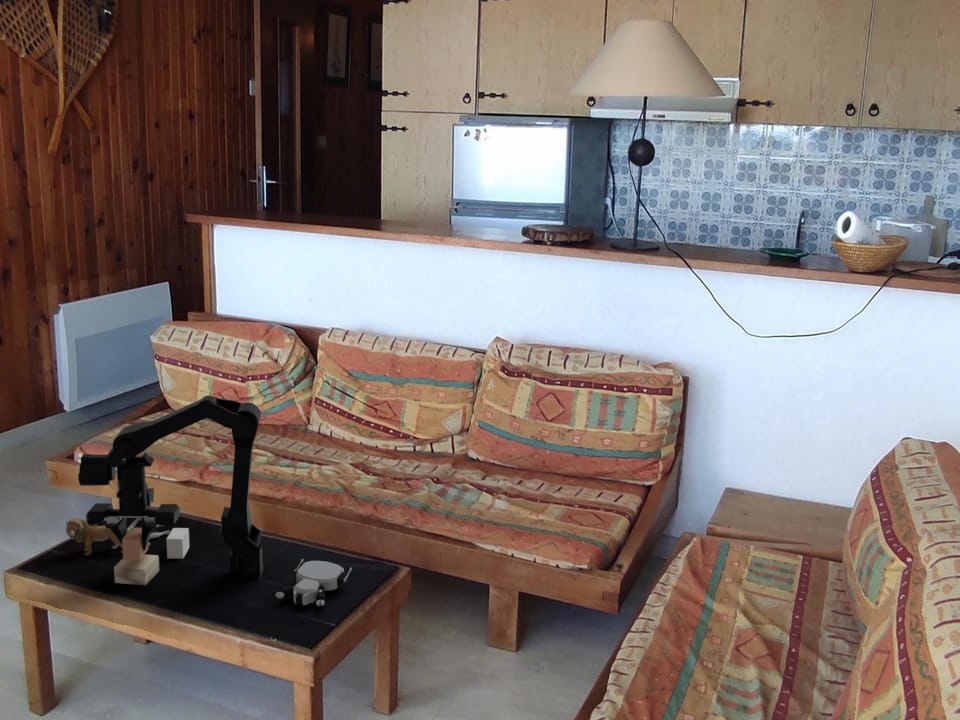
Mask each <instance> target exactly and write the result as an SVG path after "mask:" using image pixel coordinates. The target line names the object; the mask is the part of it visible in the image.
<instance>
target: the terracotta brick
mask: <svg viewBox="0 0 960 720" xmlns="http://www.w3.org/2000/svg"><path fill="white" fill-rule="evenodd" d="M122 545H123V548H122V550H123V554H122V559H123V560H141V559H142V557H143V555H144V554H146V553H147V551H148V550H149V544H148V545H147V548H146V550H145V551H143V547H142V527H133V528H130V529H129V531H128V532H127V533H126V535H125V536H124V537H123V539H122Z"/></svg>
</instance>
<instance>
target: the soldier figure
mask: <svg viewBox="0 0 960 720" xmlns="http://www.w3.org/2000/svg"><path fill="white" fill-rule="evenodd" d="M142 519H143V518H135V520H134V521H133V522H131V524H130V525H129V526H128V527H126V528H127V532H128V531H129V529H130V528H135V526H136V525H137V523H138V521H142ZM164 526H165V525H157V527H156V528H159V527H164ZM169 534H170V530H168V529H167V530H166V531H162V532H157V531H156V532H151V535H150V538H149V540H151V539H155V538H160V537H161V536H163V535H169ZM148 545H151V542H150V541H148Z"/></svg>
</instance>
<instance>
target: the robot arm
mask: <svg viewBox="0 0 960 720" xmlns="http://www.w3.org/2000/svg"><path fill="white" fill-rule="evenodd" d="M261 412H262V411H261V409H260V408H259V407H258V405H256V404H254V403H252V402H240V401H237V400H232V399H225V398H219V397H217V396H214V395H210V394H209V395H204V396H203V397H202V398H200V399H199V400H196V401H194V402H192V403H190V404H187V405H185V406H183V407H180V408H178V409H176V410H174V411H172V412H169V413H167V414H165V415H163V416H161V417H158V418H156V419H154V420H151V421H144V422H142V421H141V422H138V423H133V424H130V425H127V426H124V427H123V428H121V430H119V432H118V433H117V435H116V437H114V440H113V442H112V448H111V449H110V450H109V452H108V453H107V454H91V453H84V454H82V455H81V457H80V464H79V467H78V468H79V472H78V474H77V477H78V484H79V485H80V486H81V487H82V486H83V487H86V486H87V487H90V486H91V487H92V486H93V487H95V486H96V487H98V486H100V487H101V486H110V484H111V481H115V480H116V479H117V492H116V498H117V499H118V508H114V506H113V504H112V503H111V502H110V503H109V502H108V503H107V502H105V503H103V502H102V503H101V502H100V503H99V502H96V503H95V504H94V505H93V506H91V508H90V509H89V511H87V512H86V516H85V521H86V523H87V524H88V525H96V526H102V524H103V523H104V522H105V520H106V524H105V525H104V526H105V527H106V528H110V529H111V531H112V532H113V533H114V534H115V535H116V537H117V538H118V539H119V541H120V543H121V544H122V539H123V537H124V536H125V535H126V533H127V528H128V527H127V519H137V518H140V519H144V523H142V525H141V528H142V547H143V551H145V550H146V548H147V545H148V546H149V544H148V542H150V539H149V538H150V535H151V534H152V533H153V532H152V531H153V530H154V529H156V528H158V527H157V525H164V526H174V525H175V524H176V522H177V521H178V519H179V518H180V515H181V509H180V506H179V505H178V504H177V503H161V504H160V505H159V507H158V508H149V507H150V506H151V505H152V503H154V501H155V499H154V498H155V497H154V496H155V487H154V488H153V487H148V483H146V467H147V468H151V467H152V465H153V463H154V461H155V458H154V457H152V456H150V455H149V454H148V453H147V452H144V451H146V450H147V449H148V448H150V447H151V446H152V445H153V444H154V443H156V442H158V441H160V440H161V439H162V438H166V437H167V436H169V435H173V434H174V433H176V432H179V431H180V430H183V429H185V428H188V427H190V426H191V425H194V424H197V423H199V422H200V421H202V420H205V419H208V420H211V421H213V422H215V423H217V424H219V425H220V426H222V427H224V428H227V429H230V430H231V434H232V435H231V436H232V441H233V445H234V456H233V457H234V459H233V470H232V484H231V496H230V507H228V506H224V507H223V510H222V513H221V516H220V522H221V523H220V524H221V527H220V531H219V535H220V536H221V535H222V536H221V537H222V540H223V543H225V544H226V545H227V546H229V548H230V550H231V553H230V554H229V557H228V559H229V573H230V579H231V580H259V579H261V577H262V574H263V571H264V568H265V564H264V563H263V545H262V544H260V541H261V538H262V530H261V529H259V528H258V527H257V526H255V525H254V524H253V523H252V522H253V521H252V513H251V508H250V504H249V499H250V485H251V474H252V473H251V472H252V460H253V459H252V458H253V448H254V447H253V446H254V443H255V439H256V437H257V436H256V435H257V432H258V428H259V424H260V422H261V417H262V413H261ZM141 453H143V454H142V455H141V456H139V455H140V454H141ZM116 475H117V476H116ZM116 477H117V478H116ZM148 508H149V509H148ZM122 546H123V545H122Z"/></svg>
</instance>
